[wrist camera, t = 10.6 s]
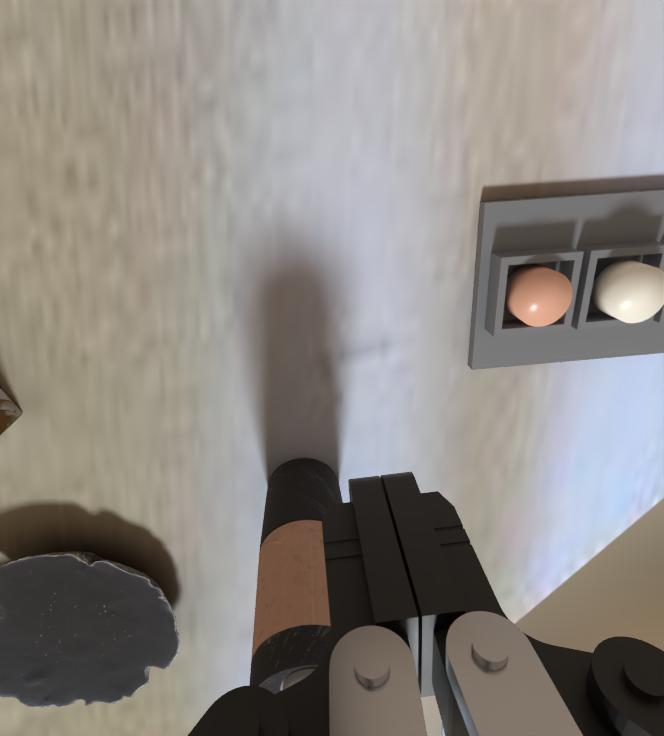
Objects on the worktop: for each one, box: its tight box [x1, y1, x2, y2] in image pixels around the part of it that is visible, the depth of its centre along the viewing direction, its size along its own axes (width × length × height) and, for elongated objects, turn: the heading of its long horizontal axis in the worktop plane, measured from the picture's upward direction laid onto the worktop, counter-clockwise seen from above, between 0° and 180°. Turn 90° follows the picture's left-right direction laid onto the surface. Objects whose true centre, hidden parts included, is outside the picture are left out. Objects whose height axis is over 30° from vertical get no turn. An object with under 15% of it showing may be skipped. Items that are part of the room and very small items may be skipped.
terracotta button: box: [504, 264, 573, 327], centre depth 36 cm, size 4×4×2 cm
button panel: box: [468, 189, 664, 370], centre depth 37 cm, size 14×22×3 cm, turn 93°
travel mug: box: [250, 458, 343, 694], centre depth 36 cm, size 8×8×20 cm
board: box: [0, 551, 180, 707], centre depth 48 cm, size 22×22×5 cm
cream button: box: [592, 260, 664, 323], centre depth 35 cm, size 4×4×2 cm
